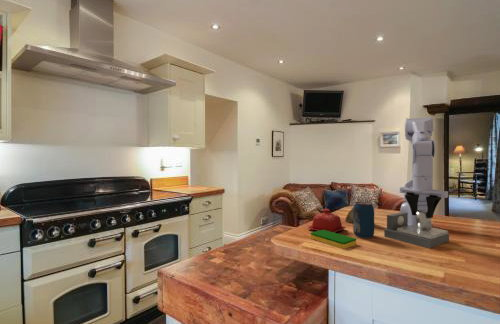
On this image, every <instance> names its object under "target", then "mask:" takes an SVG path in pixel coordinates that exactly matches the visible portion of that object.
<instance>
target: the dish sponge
mask: <svg viewBox="0 0 500 324" xmlns="http://www.w3.org/2000/svg"><path fill="white" fill-rule="evenodd" d="M311 238H312V240H314V239H315V241H317V240H318V242H320V241H321V243H323V242H324V244H326V243H327V245H330V246H334V247H336V248H339V249H343V250H345V249H347V248H351V247H353V246H357V237H356V238H355V237H351V236H348V235H344V234H341V233H337V232H335V233H334V232H330V231H327V230H320V231H312V232H310V239H311Z"/></svg>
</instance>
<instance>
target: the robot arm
mask: <svg viewBox="0 0 500 324" xmlns="http://www.w3.org/2000/svg"><path fill="white" fill-rule="evenodd" d="M433 131H434V118H433V117H432V116H430V117H417V118H413V117H412V118H406V119H405V120H404V137H405V140H407V141H409V142H410V145H411V179H409V181H406V183H405V184H404V186H401V187H399V193H401V194H403V202H402V204H401V206H400V212H406V213H408V225H412V224H416V213H415V211H416V210H427V217H428V218H431V219H432V218H434V214H435V212H436V208H437V206H438V205H439V203H440V201H441V200H442V199H446V198H447V199H448V197H449V191H447V190H441V189H434V187H433V184H434V183H433V181H434V158H435V155H436V144H435V140H434V139H432V136H433Z"/></svg>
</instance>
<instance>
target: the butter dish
mask: <svg viewBox="0 0 500 324" xmlns="http://www.w3.org/2000/svg"><path fill="white" fill-rule="evenodd" d="M330 211H331V210H330V209H329V208H324V209H323V210H322V212H321V213H318V214H315V216H314V217H313V218H312V225H309V226H308V227H307V229H309V230H312V231H315V230H316V231H320V230H327V231H330V232H334V233H337V232H340V231H341V230H344V229H346V228H347V227H346V226H344V225H342V221H341V217H340V216H339V215H338V214H335V213H331V212H330ZM316 231H315V232H316Z"/></svg>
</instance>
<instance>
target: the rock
mask: <svg viewBox="0 0 500 324" xmlns="http://www.w3.org/2000/svg"><path fill="white" fill-rule="evenodd" d="M359 202H364V201H362V200H359ZM353 215H354V206H352V207H351V209H350V210H349V212H348V213H347V215H346V217H345V222H347V223H351V224H353ZM374 225H375V222H374Z"/></svg>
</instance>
